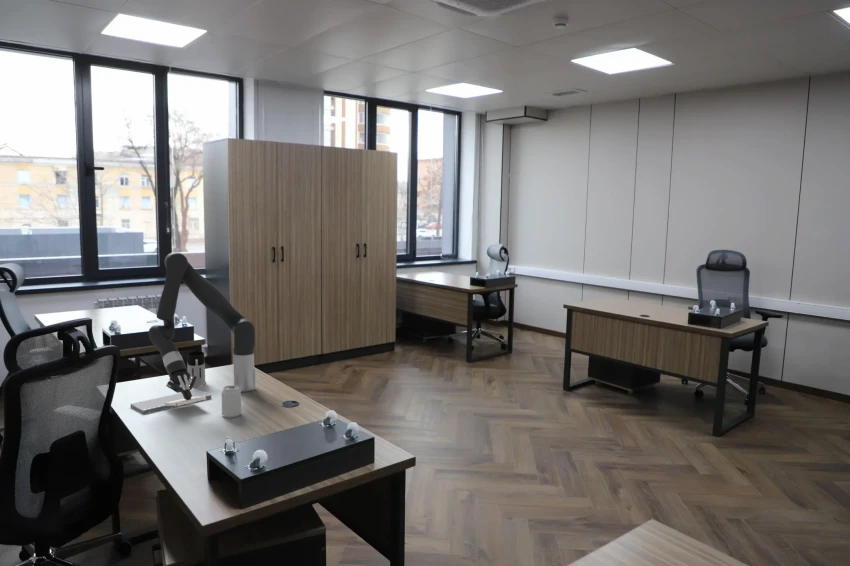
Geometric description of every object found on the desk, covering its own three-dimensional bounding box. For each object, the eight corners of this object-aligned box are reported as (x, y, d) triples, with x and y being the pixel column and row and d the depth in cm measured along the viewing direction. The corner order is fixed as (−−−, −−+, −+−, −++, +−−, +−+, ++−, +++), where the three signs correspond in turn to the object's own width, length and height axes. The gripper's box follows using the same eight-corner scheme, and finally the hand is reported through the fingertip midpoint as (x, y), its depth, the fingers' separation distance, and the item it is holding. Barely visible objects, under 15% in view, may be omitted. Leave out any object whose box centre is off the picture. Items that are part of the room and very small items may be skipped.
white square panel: (192, 396, 259) (205, 396, 251) (192, 399, 258) (206, 399, 250) (164, 402, 250) (177, 402, 242) (165, 405, 250) (178, 405, 242)
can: (244, 412, 248) (243, 384, 247) (236, 419, 241) (236, 390, 239) (226, 411, 249) (226, 383, 247) (218, 417, 241) (218, 389, 240)
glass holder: (205, 380, 292) (205, 350, 291) (207, 388, 280) (206, 357, 278) (186, 382, 289) (185, 351, 287) (187, 390, 276) (186, 358, 274)
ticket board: (198, 392, 274) (197, 388, 273) (211, 398, 266) (211, 394, 266) (130, 407, 251) (130, 403, 251) (143, 414, 243) (142, 410, 243)
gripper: (161, 362, 247) (176, 397, 241) (192, 357, 257) (207, 391, 250) (156, 372, 251) (170, 407, 245) (186, 366, 261) (201, 400, 255)
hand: (189, 398), depth 248 cm, fingers closed
